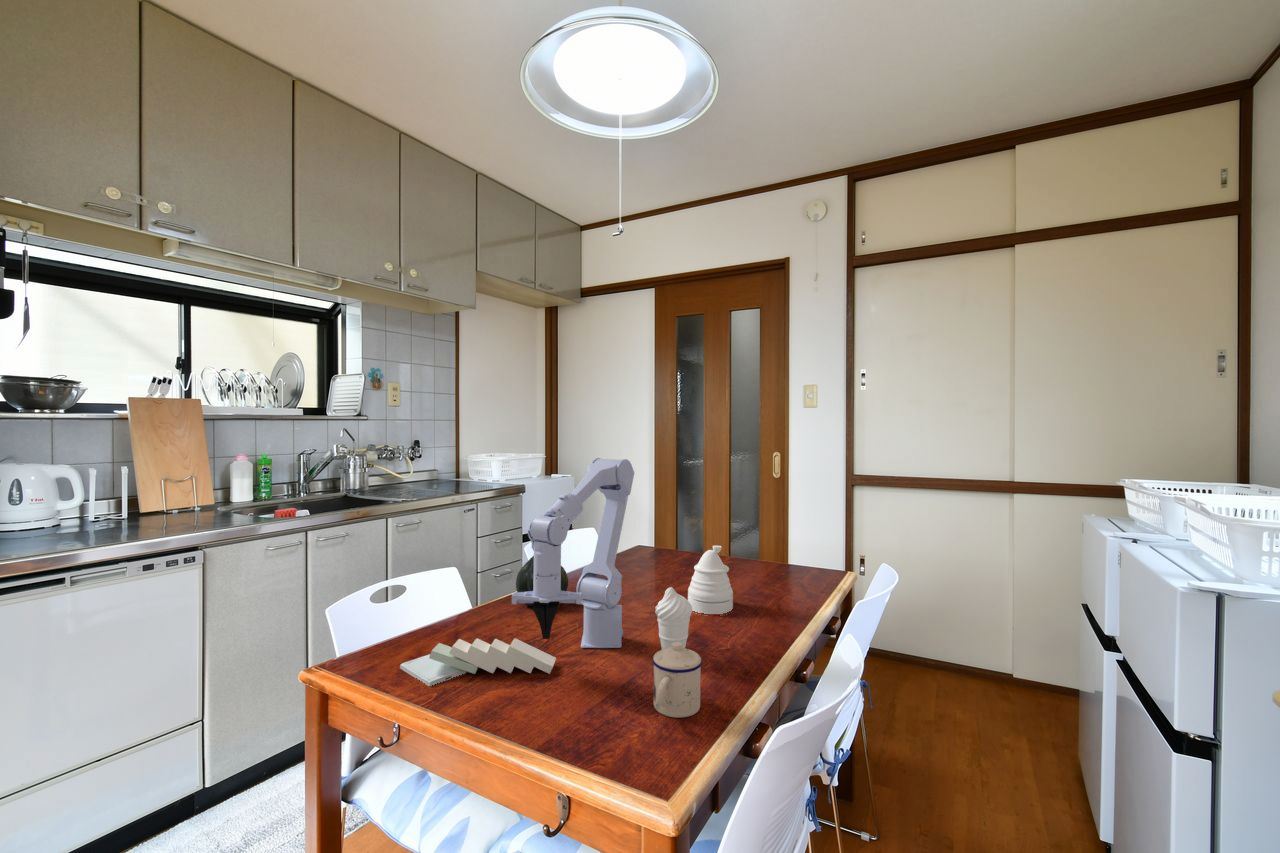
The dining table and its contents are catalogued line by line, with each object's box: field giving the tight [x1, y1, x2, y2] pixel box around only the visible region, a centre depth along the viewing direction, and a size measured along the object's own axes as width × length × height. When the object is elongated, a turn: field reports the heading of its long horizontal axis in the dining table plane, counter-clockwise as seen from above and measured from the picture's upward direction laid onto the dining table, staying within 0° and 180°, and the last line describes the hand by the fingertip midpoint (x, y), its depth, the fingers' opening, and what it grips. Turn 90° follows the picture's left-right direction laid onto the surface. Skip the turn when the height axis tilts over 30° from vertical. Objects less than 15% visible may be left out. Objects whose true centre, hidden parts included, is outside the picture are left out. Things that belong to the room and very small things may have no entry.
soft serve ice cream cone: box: [654, 586, 693, 650], centre depth 123 cm, size 8×8×16 cm
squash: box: [515, 555, 569, 607], centre depth 162 cm, size 14×15×15 cm
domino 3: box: [467, 638, 515, 674], centre depth 117 cm, size 2×5×10 cm
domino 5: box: [506, 637, 557, 675], centre depth 117 cm, size 2×5×10 cm
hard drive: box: [399, 653, 467, 687], centre depth 116 cm, size 2×8×12 cm
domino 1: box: [429, 642, 480, 675], centre depth 116 cm, size 2×5×10 cm
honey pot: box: [687, 544, 734, 614], centre depth 158 cm, size 13×13×18 cm
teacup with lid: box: [652, 642, 703, 719], centre depth 101 cm, size 12×9×12 cm
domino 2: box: [449, 638, 498, 674], centre depth 116 cm, size 2×5×10 cm
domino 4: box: [487, 638, 535, 674], centre depth 117 cm, size 2×5×10 cm
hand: (546, 637), depth 117 cm, fingers closed
